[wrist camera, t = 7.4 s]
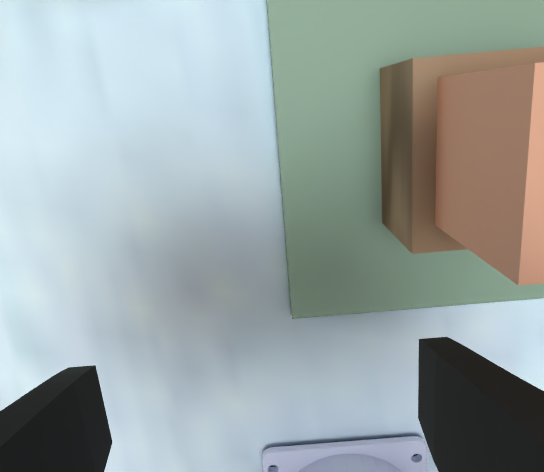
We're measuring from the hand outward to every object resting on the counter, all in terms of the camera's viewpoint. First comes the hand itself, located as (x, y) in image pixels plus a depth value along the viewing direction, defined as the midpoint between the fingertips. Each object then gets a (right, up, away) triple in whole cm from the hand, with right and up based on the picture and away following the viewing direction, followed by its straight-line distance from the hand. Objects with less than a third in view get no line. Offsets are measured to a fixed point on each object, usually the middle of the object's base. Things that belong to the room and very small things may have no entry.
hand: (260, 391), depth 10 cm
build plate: (+8, +7, +8) cm, 13 cm away
